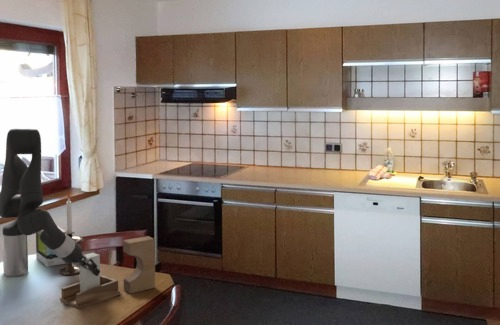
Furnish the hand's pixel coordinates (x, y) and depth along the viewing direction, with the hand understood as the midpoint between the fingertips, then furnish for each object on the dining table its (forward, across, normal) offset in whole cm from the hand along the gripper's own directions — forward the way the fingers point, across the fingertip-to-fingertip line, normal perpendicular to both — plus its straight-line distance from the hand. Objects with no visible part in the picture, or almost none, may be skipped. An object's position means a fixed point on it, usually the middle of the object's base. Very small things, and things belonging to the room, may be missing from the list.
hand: (94, 272), depth 198 cm
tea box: (+17, +48, -4) cm, 51 cm away
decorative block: (+17, -8, -4) cm, 20 cm away
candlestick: (+14, +29, -1) cm, 32 cm away
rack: (+5, 0, +8) cm, 9 cm away
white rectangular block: (+4, 0, +6) cm, 7 cm away
